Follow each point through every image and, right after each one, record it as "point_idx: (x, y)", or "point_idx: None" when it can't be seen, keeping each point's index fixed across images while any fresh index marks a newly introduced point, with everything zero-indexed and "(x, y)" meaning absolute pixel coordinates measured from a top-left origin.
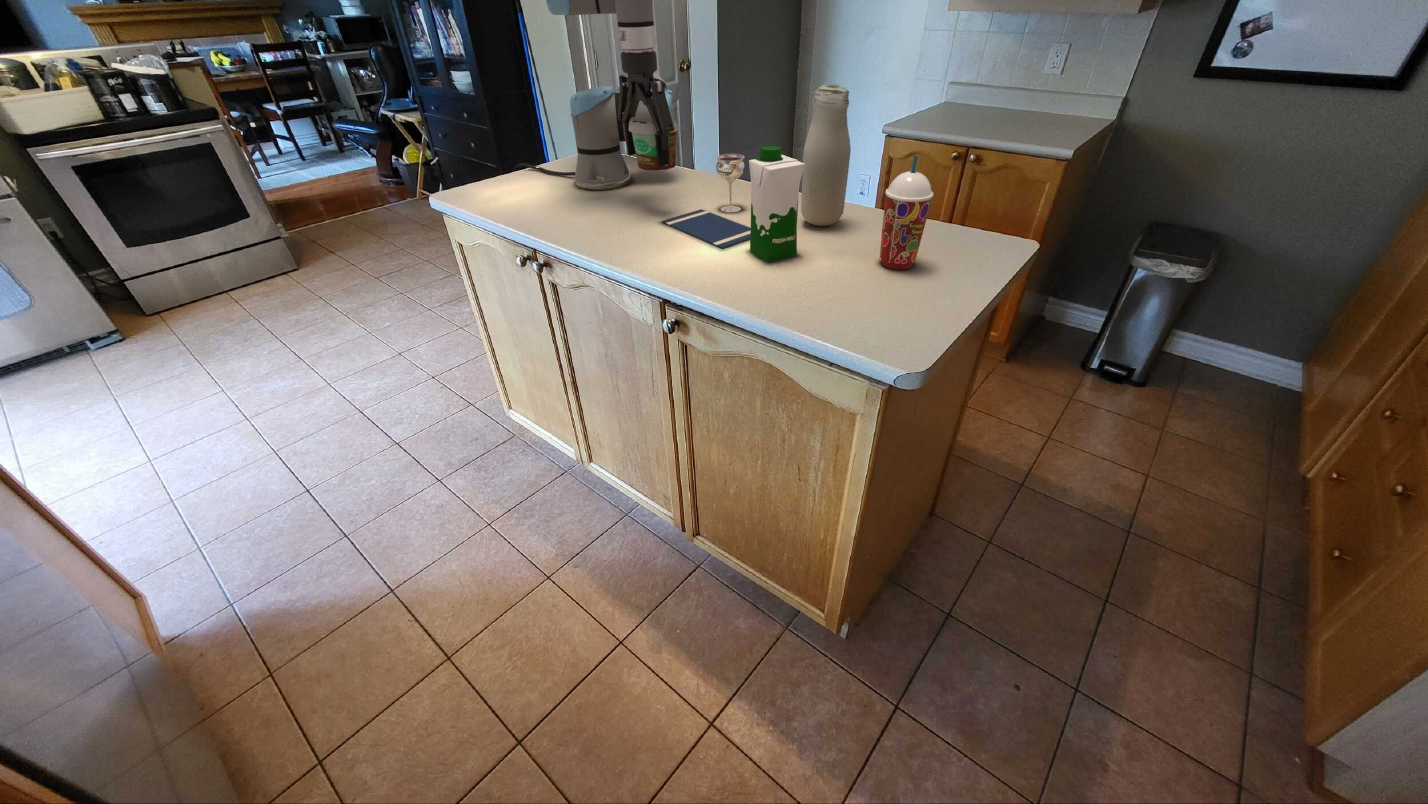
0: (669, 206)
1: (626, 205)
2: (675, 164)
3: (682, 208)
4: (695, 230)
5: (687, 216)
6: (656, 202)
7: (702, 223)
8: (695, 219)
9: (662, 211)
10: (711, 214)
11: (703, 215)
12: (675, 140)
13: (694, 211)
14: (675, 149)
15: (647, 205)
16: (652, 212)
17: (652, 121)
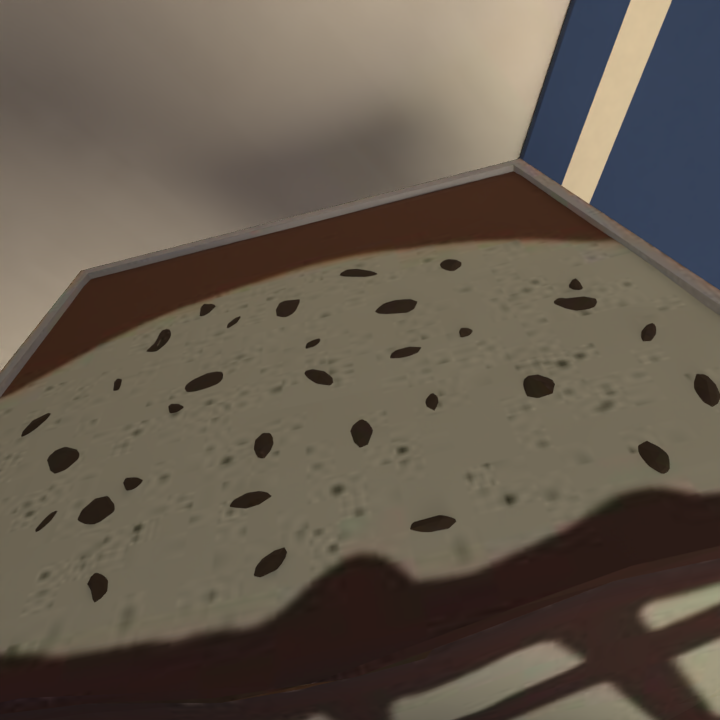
0: (308, 34)
1: (56, 213)
2: (529, 164)
3: (421, 6)
4: (717, 287)
5: (573, 153)
6: (152, 22)
7: (714, 188)
8: (646, 164)
9: (345, 151)
10: (710, 16)
11: (663, 70)
12: (711, 301)
13: (567, 43)
14: (625, 237)
15: (163, 122)
16: (306, 204)
17: (297, 716)
